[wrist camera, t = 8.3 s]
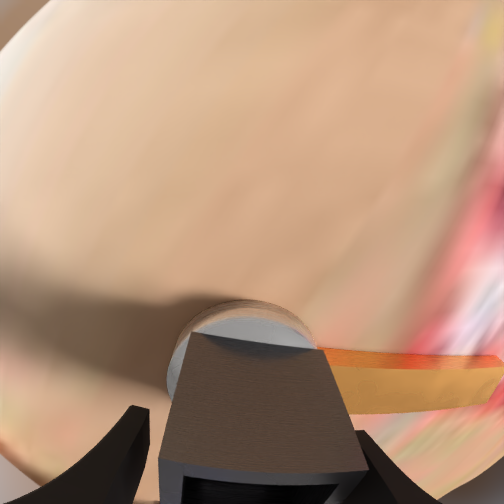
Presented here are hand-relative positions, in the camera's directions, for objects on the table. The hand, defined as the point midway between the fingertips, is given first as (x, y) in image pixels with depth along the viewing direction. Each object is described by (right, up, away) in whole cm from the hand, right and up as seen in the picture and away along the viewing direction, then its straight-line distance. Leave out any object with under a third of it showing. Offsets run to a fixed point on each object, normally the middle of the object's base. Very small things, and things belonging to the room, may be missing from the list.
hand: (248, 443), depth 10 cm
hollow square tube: (0, +1, +3) cm, 3 cm away
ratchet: (+6, 0, +5) cm, 8 cm away
